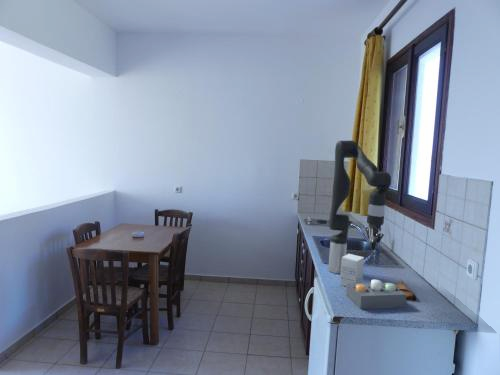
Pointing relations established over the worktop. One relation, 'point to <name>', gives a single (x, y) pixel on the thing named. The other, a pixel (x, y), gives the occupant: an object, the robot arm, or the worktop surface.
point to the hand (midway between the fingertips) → (372, 249)
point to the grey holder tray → (375, 297)
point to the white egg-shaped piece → (376, 285)
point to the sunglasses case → (406, 291)
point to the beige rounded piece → (361, 288)
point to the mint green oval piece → (390, 287)
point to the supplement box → (351, 269)
